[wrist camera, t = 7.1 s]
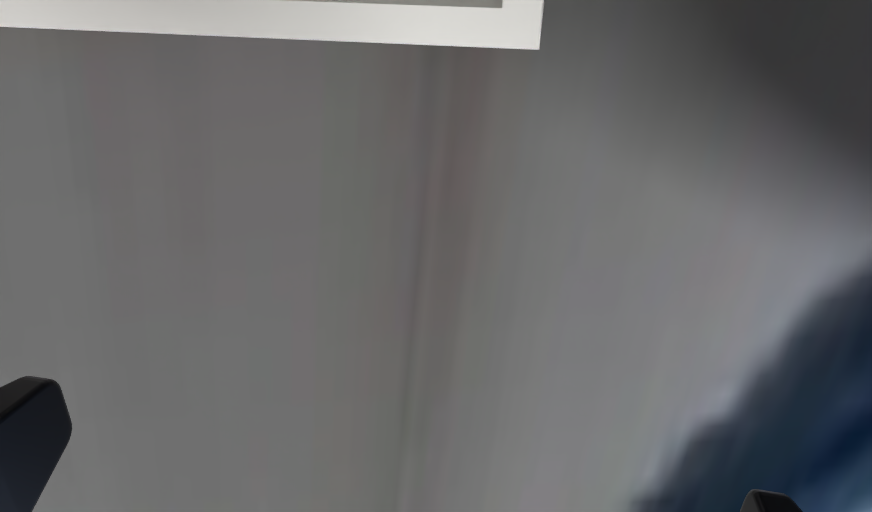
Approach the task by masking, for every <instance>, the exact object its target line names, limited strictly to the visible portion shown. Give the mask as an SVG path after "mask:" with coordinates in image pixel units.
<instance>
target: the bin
mask: <svg viewBox="0 0 872 512" xmlns="http://www.w3.org/2000/svg"><path fill="white" fill-rule="evenodd" d="M543 8H544V0H0V27H21V28H44V29H67V30H91V31H114V32H138V33H161V34H184V35H208V36H231V37H255V38H278V39H301V40H325V41H348V42H371V43H395V44H418V45H442V46H465V47H488V48H512V49H535V50H539V45H540V35H541V26H542V17H543Z"/></svg>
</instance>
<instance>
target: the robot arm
mask: <svg viewBox="0 0 872 512" xmlns="http://www.w3.org/2000/svg"><path fill="white" fill-rule="evenodd" d="M71 431H72V423H71V419H70V416H69V412H68V409H67V406H66V403H65V400H64V397H63V393H62V390H61V387H60V385H59V384H58V383H57V382H56V381H54V380H52V379H46V378H40V377H33V376H25V377H22V378H19V379H17V380H15V381H13V382H11V383H9V384H7V385H4V386H2V387H0V512H32V510H33V508H34V506H35V505H36V503H37V501H38V499H39V497H40V495H41V493H42V491H43V489H44V487H45V486H46V484H47V482H48V480H49V478H50V476H51V474H52V472H53V470H54V469H55V467H56V465H57V463H58V461H59V459H60V457H61V455H62V453H63V451H64V450H65V448H66V446H67V444H68V442H69V439H70V436H71ZM740 512H802V510H801V509H800V508H799V507H798V506H797V505H796V503H795V502H794V501H793V500H792V499H791V498H790V497H788V496H787V495H785V494H783V493H777V492H771V491H765V490H758V489H754V490H751V491H750V492H749V493H748V494H747V496H746V498H745V500H744V503H743V505H742V508H741V510H740Z"/></svg>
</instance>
